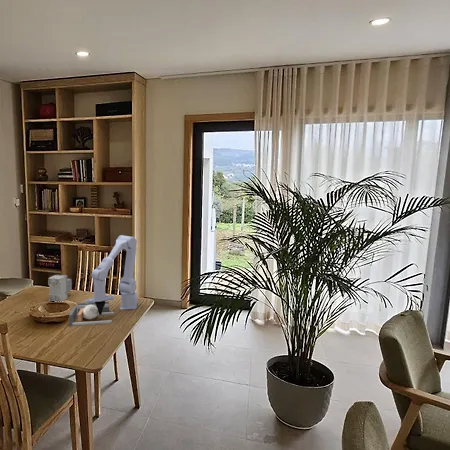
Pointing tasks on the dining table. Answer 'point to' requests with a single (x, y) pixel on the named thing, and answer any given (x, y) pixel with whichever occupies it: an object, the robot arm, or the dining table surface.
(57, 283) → the circuit breaker
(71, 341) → the dining table surface
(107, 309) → the rail mount
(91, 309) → the white rounded piece
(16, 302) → the dining table surface
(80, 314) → the tan rectangular box
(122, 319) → the dining table surface
